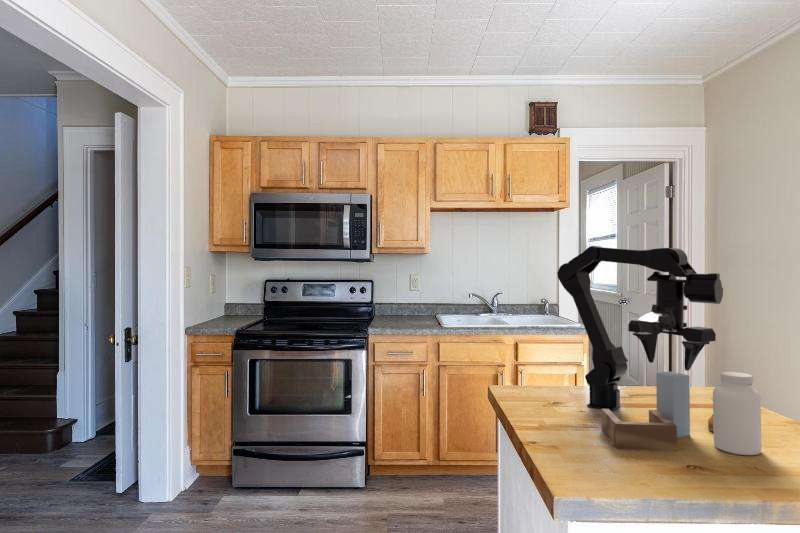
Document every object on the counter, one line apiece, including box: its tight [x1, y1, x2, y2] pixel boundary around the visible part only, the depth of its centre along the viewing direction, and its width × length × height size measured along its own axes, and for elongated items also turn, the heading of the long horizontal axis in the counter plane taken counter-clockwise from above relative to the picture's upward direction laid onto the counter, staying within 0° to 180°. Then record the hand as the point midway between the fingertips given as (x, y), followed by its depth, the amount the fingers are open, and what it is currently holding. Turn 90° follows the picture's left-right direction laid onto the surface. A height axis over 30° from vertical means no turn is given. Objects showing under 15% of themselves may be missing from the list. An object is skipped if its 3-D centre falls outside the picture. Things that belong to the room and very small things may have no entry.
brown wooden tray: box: [601, 409, 678, 452], centre depth 104 cm, size 11×12×5 cm
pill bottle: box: [712, 371, 762, 456], centre depth 99 cm, size 8×8×15 cm
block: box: [655, 371, 691, 438], centre depth 109 cm, size 4×4×13 cm
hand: (668, 366), depth 118 cm, fingers open, 9 cm apart
